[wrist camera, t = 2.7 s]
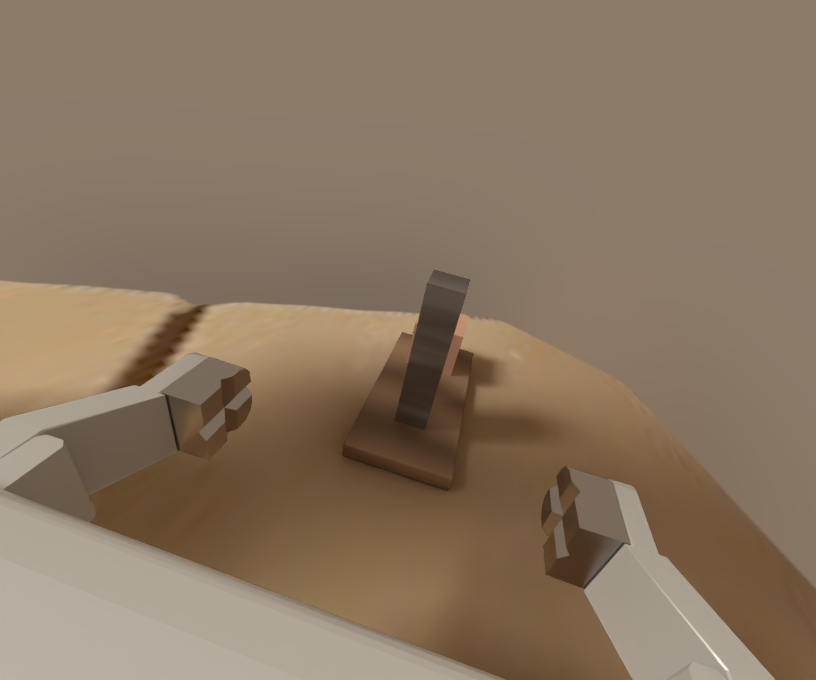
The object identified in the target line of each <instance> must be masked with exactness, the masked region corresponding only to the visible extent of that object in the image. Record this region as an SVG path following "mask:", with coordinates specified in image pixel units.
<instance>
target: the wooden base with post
mask: <svg viewBox="0 0 816 680" xmlns="http://www.w3.org/2000/svg"><path fill="white" fill-rule="evenodd" d="M469 282H470V279H466V278H462V277H459V276H455V275H451V274H447V273H444V272H440V271H437V270H434V271H433V273H432V275H431V277H430V279H429V281H428V283H427V287H426V291H425V294H424V299H423V303H422V307H421V311H420V315H419V319H418V324H417V328H416V332H415V336H414V340H413V345H412V349H411V353H410V357H409V361H408V363H406V361H407V357H408V353H409V348H410V344H411V340H412V336H413V335H410V334H407V333H403V332H402V334H401V336H400V338H399V339H398V341H397V343H396V345H395V347H394V349H393V351H392V353H391V355H390V357H389V359H388V361H387V362H386V364H385V366H384V368H383V370H382V372H381V374H380V376H379V378H378V380H377V382H376V384H375V385H374V387H373V389H372V391H371V393H370V395H369V397H368V399H367V401H366V403H365V405H364V406H363V408H362V410H361V412H360V414H359V416H358V418H357V420H356V422H355V424H354V426H353V428H352V429H351V431H350V433H349V435H348V437H347V439H346V441H345V443H344V447H343V453H342V455H343V456H346V457H349V458H352V459H355V460H358V461H361V462H364V463H367V464H370V465H373V466H376V467H379V468H382V469H385V470H388V471H391V472H394V473H397V474H400V475H403V476H406V477H409V478H412V479H415V480H418V481H421V482H424V483H427V484H430V485H433V486H436V487H439V488H442V489H445V490H448V489H449V486H450V484H451V481H452V478H453V471H454V465H455V459H456V453H457V447H458V441H459V435H460V429H461V423H462V417H463V411H464V405H465V398H466V392H467V386H468V380H469V374H470V368H471V362H472V356H473V353H471V352H468V351H464V350H461V349H459V352H458V355H457V358H456V361H455V364H454V367H453V370H452V374H451V376H449V375H446V374H442V372H443V369H444V365H445V362H446V359H447V355H448V352H449V349H450V346H451V342H452V339H453V336H454V333H455V329H456V326H457V323H458V320H459V316H460V313H461V310H462V306H463V303H464V300H465V297H466V293H467V289H468V286H469Z"/></svg>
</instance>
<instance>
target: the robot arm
mask: <svg viewBox="0 0 816 680" xmlns="http://www.w3.org/2000/svg"><path fill="white" fill-rule="evenodd" d="M250 382H251V379H250V371H248V370H247V369H245V368H242V367H239V366H236V365H233V364H230V363H227V362H224V361H221V360H218V359H215V358H211V357H208V356H205V355H202V354H199V353H196V352H194V353H188V354H187V355H186V356H184V357H183V358H181V359H180V360H178V361H177V362H175V363H174V364H172V365H171V366H170V367H168V368H167V369H165V370H164V371H162V372H161V373H159V374H158V375H156V376H155V377H154V378H152V379H151V380H149V381H148V382H146V383H145V384H143V385H142V386H140V387H139V386H136V385H133V386H129V387H125V388H121V389H117V390H113V391H109V392H105V393H102V394H98V395H94V396H90V397H86V398H82V399H78V400H74V401H70V402H66V403H62V404H59V405H55V406H51V407H47V408H43V409H39V410H35V411H31V412H27V413H23V414H19V415H15V416H12V417H8V418H5V419H3V420H2V421H0V680H506V679H503V678H501V677H498V676H496V675H493V674H490V673H488V672H485V671H482V670H480V669H477V668H474V667H472V666H469V665H466V664H464V663H461V662H458V661H456V660H453V659H451V658H448V657H445V656H443V655H440V654H437V653H435V652H432V651H429V650H427V649H424V648H421V647H419V646H416V645H413V644H411V643H408V642H406V641H403V640H400V639H398V638H395V637H392V636H390V635H387V634H384V633H382V632H379V631H376V630H374V629H371V628H368V627H366V626H363V625H361V624H358V623H355V622H353V621H350V620H347V619H345V618H342V617H339V616H337V615H334V614H331V613H329V612H326V611H323V610H321V609H318V608H316V607H313V606H310V605H308V604H305V603H302V602H300V601H297V600H294V599H292V598H289V597H286V596H284V595H281V594H278V593H276V592H273V591H271V590H268V589H265V588H263V587H260V586H257V585H255V584H252V583H249V582H247V581H244V580H241V579H239V578H236V577H233V576H231V575H228V574H226V573H223V572H220V571H218V570H215V569H212V568H210V567H207V566H204V565H202V564H199V563H196V562H194V561H191V560H188V559H186V558H183V557H180V556H178V555H175V554H172V553H170V552H167V551H165V550H162V549H159V548H157V547H154V546H151V545H149V544H146V543H143V542H141V541H138V540H135V539H133V538H130V537H127V536H125V535H122V534H119V533H117V532H114V531H111V530H109V529H106V528H103V527H101V526H98V525H96V524H93V523H90V522H91V521H92V520H93V519H94V518H95V514H96V510H95V508H94V506H93V504H92V502H91V499H90V497H89V495H91V494H93V493H95V492H97V491H99V490H101V489H103V488H105V487H108V486H110V485H112V484H114V483H116V482H118V481H120V480H122V479H124V478H126V477H128V476H130V475H132V474H134V473H136V472H138V471H140V470H142V469H144V468H146V467H148V466H151V465H153V464H155V463H157V462H159V461H161V460H163V459H165V458H167V457H169V456H171V455H173V454H175V453H177V452H178V450H179V451H182V452H185V453H188V454H192V455H195V456H198V457H201V458H205V459H208V460H210V459H211V457H212V456H213V455H214V454H215V453H216V452H217V451H218V450H219V449H220V448H221V447H222V446H223V444H224V443H225V442H226V441H227V433H228V432H230V431H233V430H235V429H238V428H239V427H240V426H241V425H242V423H243V422H244V421H245V420H246V418H247V416H248V414H249V412H250V409H251V404H252V395H251V393H250V392H249V390H248V389H247V387H246V386H247V385H248V384H249V383H250ZM557 483H558V485H557V486H554V487H552V488H549V490H548V492H547V494H546V496H545V498H544V502H543V506H542V513H541V522H542V529H543V530H544V532H545V533H546V535H547V536H548V539H547V541H546V542H545V544H544V545H543V549H544V561H545V573H546V575H548V576H551V577H553V578H556V579H559V580H562V581H564V582H567V583H570V584H572V585H575V586H578V587H580V588H583V589H585V590H584V592H585V594H586V596H587V598H588V600H589V601H590V603H591V605H592V607H593V609H594V611H595V612H596V614H597V616H598V618H599V620H600V621H601V623H602V625H603V627H604V629H605V630H606V632H607V634H608V636H609V638H610V640H611V641H612V643H613V645H614V647H615V649H616V650H617V652H618V654H619V656H620V658H621V659H622V661H623V663H624V665H625V667H626V669H627V670H628V672H629V674H630V676H631V678H632V679H633V680H775V679H774V678H773V677H772V675H771V674H770V673H769V672H768V671H767V670H766V669H765V668H764V666H763V665H762V664H761V663H760V662H759V661H758V660H757V659H756V657H755V656H754V655H753V654H752V653H751V652H750V651H749V650H748V648H747V647H746V646H745V645H744V644H743V643H742V642H741V641H740V639H739V638H738V637H737V636H736V635H735V634H734V633H733V632H732V630H731V629H730V628H729V627H728V626H727V625H726V624H725V623H724V621H723V620H722V619H721V618H720V617H719V616H718V615H717V614H716V612H715V611H714V610H713V609H712V608H711V607H710V606H709V605H708V603H707V602H706V601H705V600H704V599H703V598H702V597H701V596H700V594H699V593H698V592H697V591H696V590H695V589H694V588H693V587H692V585H691V584H690V583H689V582H688V581H687V580H686V579H685V578H684V576H683V575H682V574H681V573H680V572H679V571H678V570H677V569H676V567H675V566H674V565H673V564H672V563H671V562H670V561H669V560H668V558H667V557H664V556H661V555H659V553H658V550H657V547H656V545H655V542H654V539H653V536H652V533H651V531H650V528H649V525H648V522H647V519H646V516H645V514H644V511H643V508H642V505H641V502H640V500H639V497H638V494H637V491H636V490H635V488H634V487H633V486H631V485H628V484H624V483H621V482H617V481H614V480H610V479H606V478H603V477H600V476H596V475H593V474H590V473H586V472H583V471H579V470H576V469H573V468H569V467H566V466H565V467H564V468H562V469H561V470H560V472H559V473H558V475H557Z"/></svg>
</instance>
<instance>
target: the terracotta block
mask: <svg viewBox="0 0 816 680" xmlns="http://www.w3.org/2000/svg"><path fill="white" fill-rule="evenodd" d="M467 318H468V315H464V314H460V316H459V320H458V323H457V326H456V329H455V333H454V336H453V339H452V342H451V346H450V349H449V352H448V355H447V359H446V362H445V365H444V369H443V372H442V374H446V375H449V376H451V374H452V370H453V367H454V364H455V361H456V358H457V355H458V352H459V349H460V346H461V343H462V340H463V336H464V332H465V327H466V323H467ZM418 319H419V317H418ZM418 319H417V321H416V323H415V327H414V331H413V336H412V340H411V344H410V348H409V353H408V357H407V361H406V363H408V361H409V357H410V353H411V349H412V345H413V340H414V336H415V332H416V328H417V324H418Z"/></svg>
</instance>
